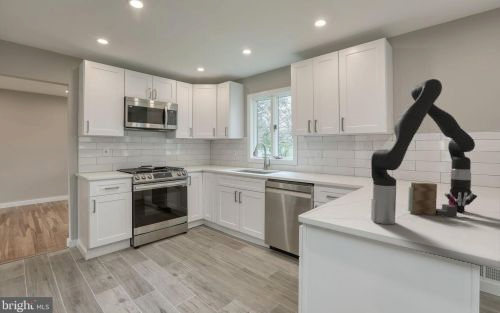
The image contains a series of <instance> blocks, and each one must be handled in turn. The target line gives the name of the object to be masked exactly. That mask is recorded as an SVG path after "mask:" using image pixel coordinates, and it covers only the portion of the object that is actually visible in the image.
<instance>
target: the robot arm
mask: <svg viewBox="0 0 500 313" xmlns="http://www.w3.org/2000/svg"><path fill="white" fill-rule="evenodd" d="M442 91H443V86H442V82H441V81H440V80H438V79H436V78H432V79H427V80H424V81H422V82H421V83H419V84H416V85H415V86H413V88H412V89H411V93H410V95H411V97H412V99H413V101H414V102H412V104H411V105H410V106H408V107H407V108H406V109H405V110H404V111H403V112H402V114H401V115H400V116H399V117H398V119H397V121H396V123H395V125H394V134H395V141H394V144H393V146H392V147H391V148H390V149H377V150H374V152H372V155H371V159H370V160H371V162H370V163H371V166H370V167H371V169H370V170H371V178H372V183H373V184H372V185H373V186H372V199H371V205H370V206H371V208H370V209H371V210H370V211H371V213H370V215H371V217H370V219H371V220H372V222H373V223H376V224H382V225H395V224H396V207H397V205H396V204H397V179H396V178H395V177H393V176H391V175H390V174H389V173H388V171H396V170H397V169H399V168H400V166H401V164H402V163H403V161H404V158H405V156H406V153H407V151H408V149H409V146H410V144H411V142H412V141H413V139H414V137H415V136H416V134H417V132H418V130H419V129H420V127H421V125H422V124H423V121H424V119H425V118H426V116H427V115H428V116H429V117H430V118H431V119H432V120H433V121H434V123H435V124H436V125H437V127H438V128H439V130H440V131H441V133H442V135H444V136H445V137H446V138H449V139H451V140H449V141H448V142H449V143H448V146H447V148H448V152H449V156H450V159H451V171H450V189H449V191H448V192H447V193H444V196H445V197H446V198H447V200H448V201H450V202H451V203H453V204H456V207H457V214H464V213H465V212H464V209H465V207H466V206H469V205H470V204H471V203H472V202H474V200H476V198H477V197H478V195H476V194H474V193H473V192H472V190H471V188H472V171H471V170H472V169H471V164H472V162H471V158H469V157H468V156H466V154H465V153H470V152H472V151H473V150H474V149H475V147H476V142H475V141H474V139H473V138H472V136H471V135H469V134H468V133H467V132H466V131H465V130H464V129H462V127H461V126H460V125H459V123H458V121H457V119H455V117H454V116H453V115H452V114H450V113H448V112H447V111H445V110H444V109H441V108H440V107H438V106H437V105H436V104H435V102H436V100H437V99H438V98H439V96H440V95H441V93H442ZM452 195H453V196H454V199H455V200H454V199H453V198H452ZM465 205H466V206H465Z"/></svg>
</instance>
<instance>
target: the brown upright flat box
mask: <svg viewBox="0 0 500 313" xmlns="http://www.w3.org/2000/svg"><path fill="white" fill-rule="evenodd" d="M410 187H413V212H412V211H409V212H410V214H412V215H419V216H420V215H421V216H436V217H437V215H436V209H437V197H438V196H437V194H438V183H434V182H415V181H414V182H411V185H410Z"/></svg>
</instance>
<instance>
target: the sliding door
mask: <svg viewBox="0 0 500 313" xmlns="http://www.w3.org/2000/svg"><path fill="white" fill-rule="evenodd" d="M407 194H408V197H407V198H408V199H407V201H408V202H407V212H410V211H412V212H413V187H411V186H408V193H407Z"/></svg>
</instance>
